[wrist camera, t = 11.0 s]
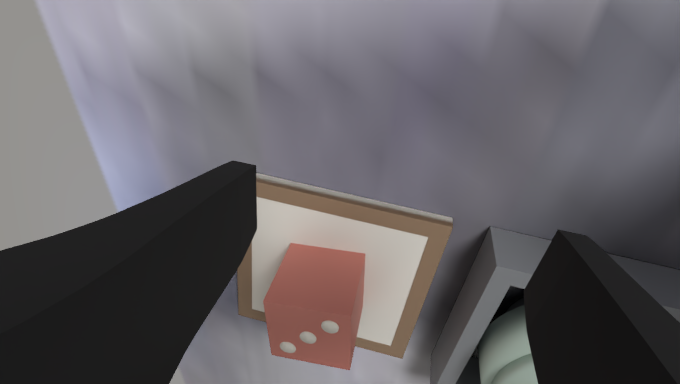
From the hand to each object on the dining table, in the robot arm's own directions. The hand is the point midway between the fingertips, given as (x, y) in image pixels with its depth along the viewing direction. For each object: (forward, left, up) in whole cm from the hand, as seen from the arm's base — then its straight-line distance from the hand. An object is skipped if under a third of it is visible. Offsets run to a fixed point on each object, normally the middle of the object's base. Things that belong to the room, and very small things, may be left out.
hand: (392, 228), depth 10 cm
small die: (+2, +12, -9) cm, 15 cm away
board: (+2, +12, -10) cm, 16 cm away
